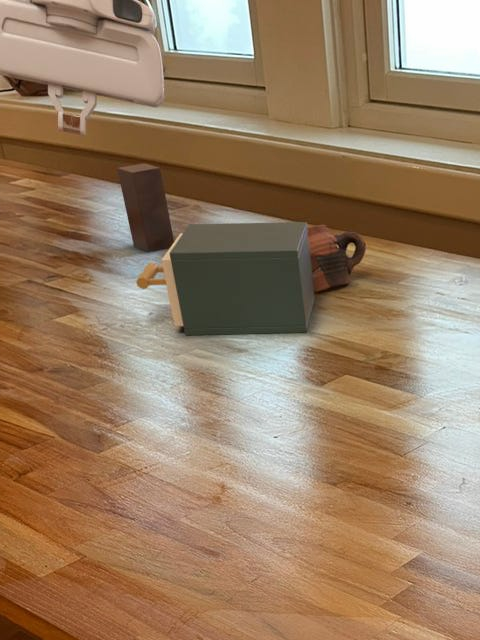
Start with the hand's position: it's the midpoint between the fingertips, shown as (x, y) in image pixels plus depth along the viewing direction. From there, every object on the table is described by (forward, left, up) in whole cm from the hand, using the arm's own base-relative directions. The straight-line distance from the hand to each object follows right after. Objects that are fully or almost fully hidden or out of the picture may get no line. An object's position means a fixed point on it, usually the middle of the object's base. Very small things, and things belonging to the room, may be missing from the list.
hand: (72, 132), depth 114 cm
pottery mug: (+27, -7, -20) cm, 35 cm away
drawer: (+10, -13, -19) cm, 25 cm away
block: (+13, +23, -20) cm, 33 cm away
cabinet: (+13, -15, -20) cm, 28 cm away
